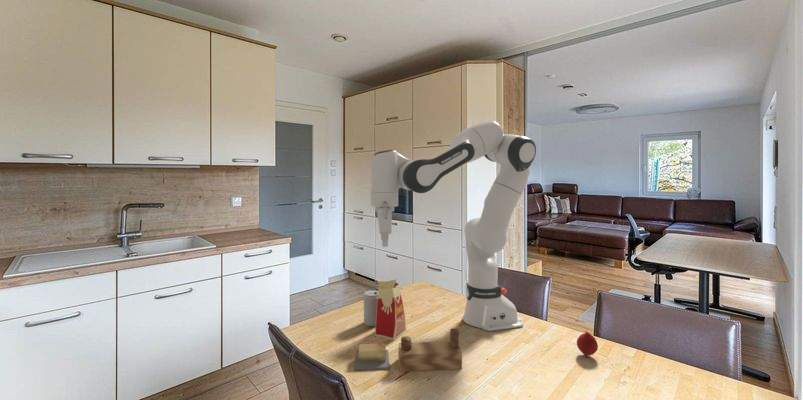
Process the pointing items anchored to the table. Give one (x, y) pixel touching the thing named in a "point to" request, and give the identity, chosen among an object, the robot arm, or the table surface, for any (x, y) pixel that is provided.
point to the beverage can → (370, 308)
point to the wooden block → (372, 353)
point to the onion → (587, 344)
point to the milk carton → (389, 311)
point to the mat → (372, 364)
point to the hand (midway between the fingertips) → (384, 243)
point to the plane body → (430, 354)
